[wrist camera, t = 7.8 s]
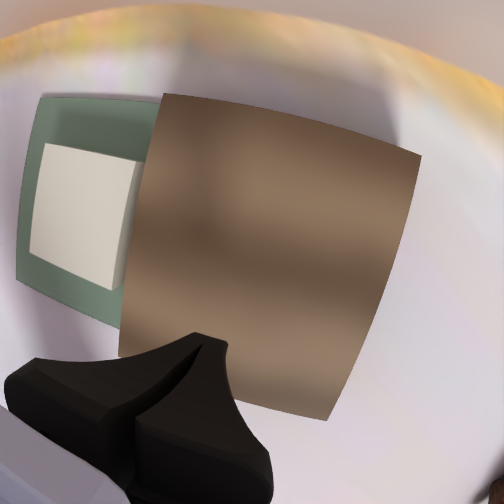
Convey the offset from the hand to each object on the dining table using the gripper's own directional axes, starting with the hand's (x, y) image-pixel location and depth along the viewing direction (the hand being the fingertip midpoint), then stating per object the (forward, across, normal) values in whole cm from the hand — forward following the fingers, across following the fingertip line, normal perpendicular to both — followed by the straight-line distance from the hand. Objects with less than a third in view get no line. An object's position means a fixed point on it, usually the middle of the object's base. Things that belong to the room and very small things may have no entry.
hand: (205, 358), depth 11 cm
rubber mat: (+6, +11, -3) cm, 13 cm away
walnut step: (+6, -1, -3) cm, 7 cm away
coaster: (+6, +10, -3) cm, 12 cm away
